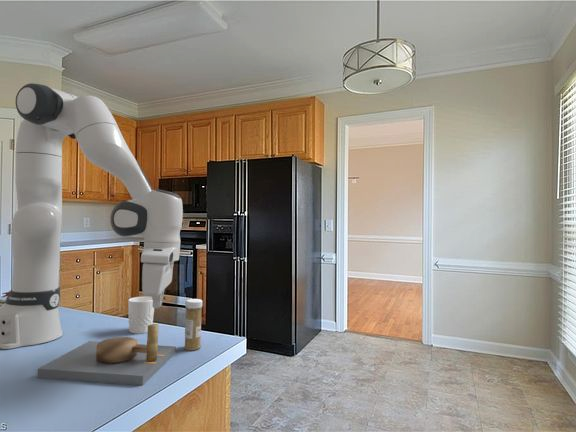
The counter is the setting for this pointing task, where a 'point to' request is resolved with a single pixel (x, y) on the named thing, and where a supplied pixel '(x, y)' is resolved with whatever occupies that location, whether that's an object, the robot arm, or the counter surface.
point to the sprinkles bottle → (193, 324)
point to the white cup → (140, 314)
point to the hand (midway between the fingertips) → (157, 306)
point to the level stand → (104, 366)
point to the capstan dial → (128, 347)
